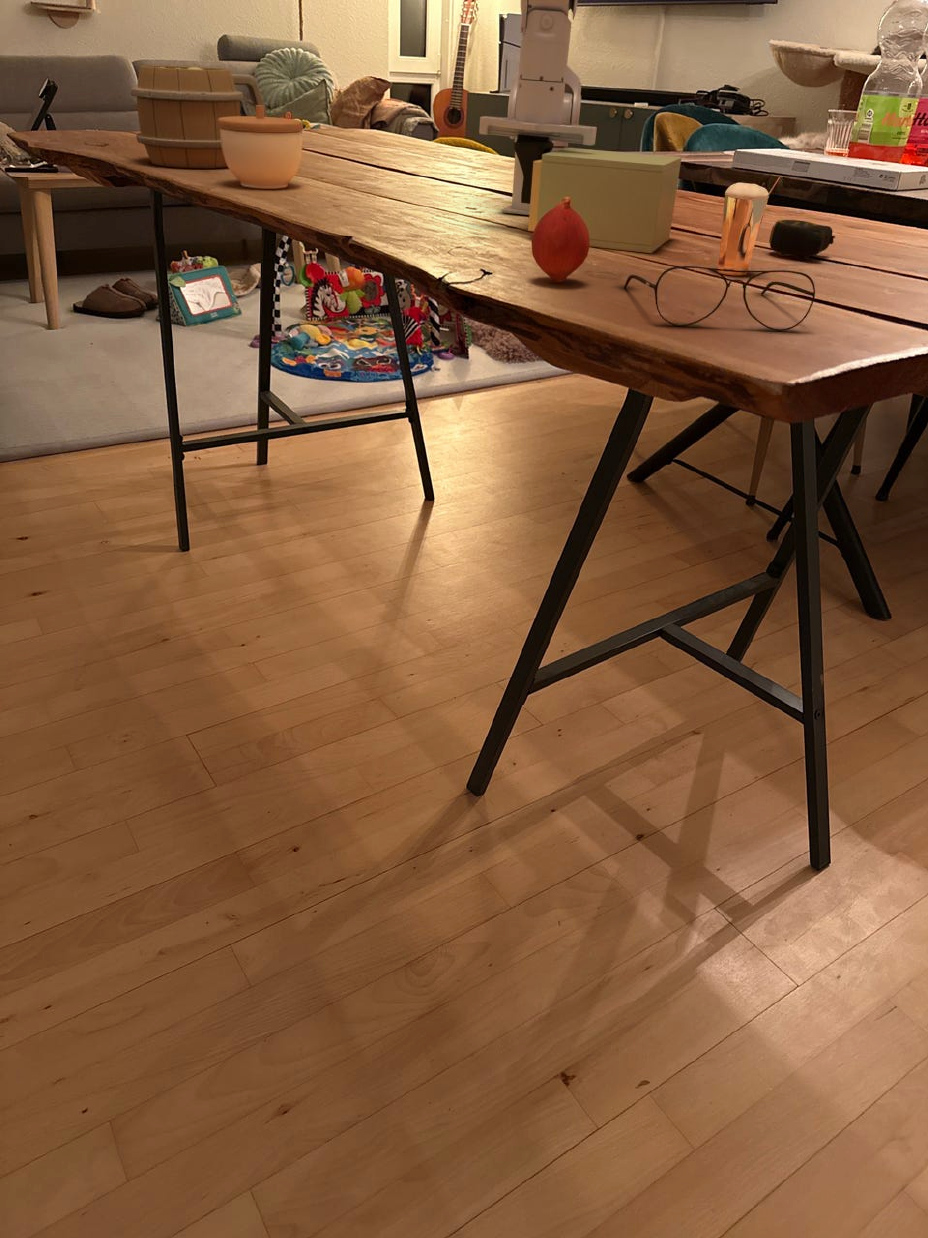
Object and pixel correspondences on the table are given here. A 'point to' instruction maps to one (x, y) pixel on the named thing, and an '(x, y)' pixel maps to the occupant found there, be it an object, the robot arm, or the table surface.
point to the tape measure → (800, 238)
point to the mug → (188, 112)
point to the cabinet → (613, 195)
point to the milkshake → (741, 225)
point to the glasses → (729, 286)
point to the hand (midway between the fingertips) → (530, 202)
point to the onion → (560, 241)
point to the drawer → (534, 195)
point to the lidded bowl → (261, 149)
